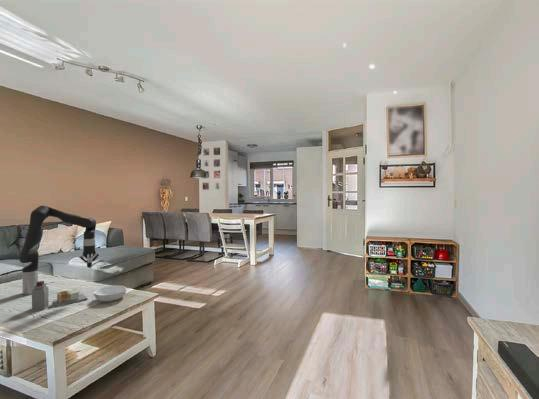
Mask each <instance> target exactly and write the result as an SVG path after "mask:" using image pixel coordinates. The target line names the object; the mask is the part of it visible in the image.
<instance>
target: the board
mask: <svg viewBox="0 0 539 399" xmlns="http://www.w3.org/2000/svg"><path fill="white" fill-rule="evenodd" d="M87 300H88V297H87V296H85V294H83V293H81V294H80V293H79V299H75V300H71V301H67V302H62V303H59V302H58V301H57V299H54V300H52V303H53V304H54V306H55V307H56V308H58V307H63V306H67V305H71V304H75V303H79V302H84V301H87Z"/></svg>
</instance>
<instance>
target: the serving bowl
mask: <svg viewBox="0 0 539 399" xmlns="http://www.w3.org/2000/svg"><path fill="white" fill-rule="evenodd" d="M127 289H128V288H127V287H126V286H124V285H108V286H104V287H100V288H97V289H96V290H94V292H93V296H94V298H95V299H96V300H97V301H100V302H113V300H114V301H116V300H119V299H121V298H123V297H124V296H125V295H126V292H127Z"/></svg>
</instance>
